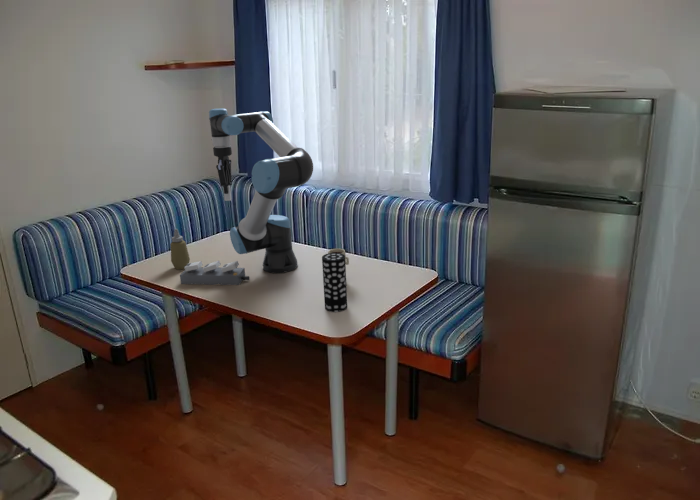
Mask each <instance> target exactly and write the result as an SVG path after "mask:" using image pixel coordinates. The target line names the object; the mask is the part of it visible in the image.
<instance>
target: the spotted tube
mask: <svg viewBox="0 0 700 500" xmlns="http://www.w3.org/2000/svg"><path fill="white" fill-rule="evenodd" d="M345 255H346V254H345ZM345 255H344V254H341V253H328V252H327V253H325V254H323V255H322V257H321V264H322V281H323V295H324V297H323V298H324V309H325V310H326V311H327V312H330V313H340V312H343V311H345V310H347V308H348V294H347V293H348V291H347V269H346V265H345Z"/></svg>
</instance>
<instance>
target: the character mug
mask: <svg viewBox="0 0 700 500" xmlns="http://www.w3.org/2000/svg"><path fill="white" fill-rule="evenodd" d="M328 253H341V254H344V255H345V265H347V266H348V265H350V258H349V257H348V256H346V250H345V249H344V248H332V249H329V250H328V251H327V254H328Z"/></svg>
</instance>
